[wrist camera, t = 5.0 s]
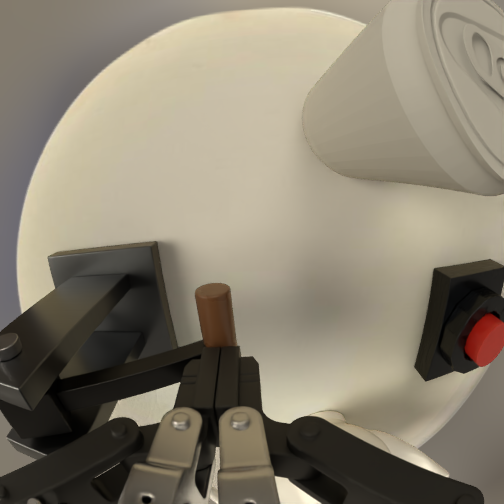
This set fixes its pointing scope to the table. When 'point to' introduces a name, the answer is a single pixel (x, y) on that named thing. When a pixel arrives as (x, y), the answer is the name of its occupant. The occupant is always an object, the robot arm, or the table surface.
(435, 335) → the control block
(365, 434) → the teapot
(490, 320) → the button
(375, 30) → the beverage can
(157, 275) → the bracket
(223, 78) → the table surface
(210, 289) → the lever
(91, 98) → the table surface
